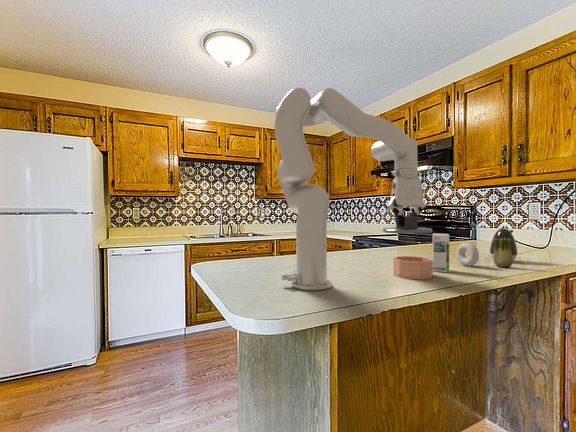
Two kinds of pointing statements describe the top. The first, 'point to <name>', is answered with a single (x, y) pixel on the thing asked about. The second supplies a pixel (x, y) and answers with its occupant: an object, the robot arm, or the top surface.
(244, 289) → the top surface
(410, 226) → the lid
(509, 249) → the fennel bulb
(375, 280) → the top surface
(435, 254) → the syrup box
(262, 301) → the top surface
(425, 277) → the bowl
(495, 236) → the dark glossy dome
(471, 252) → the donut
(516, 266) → the top surface
